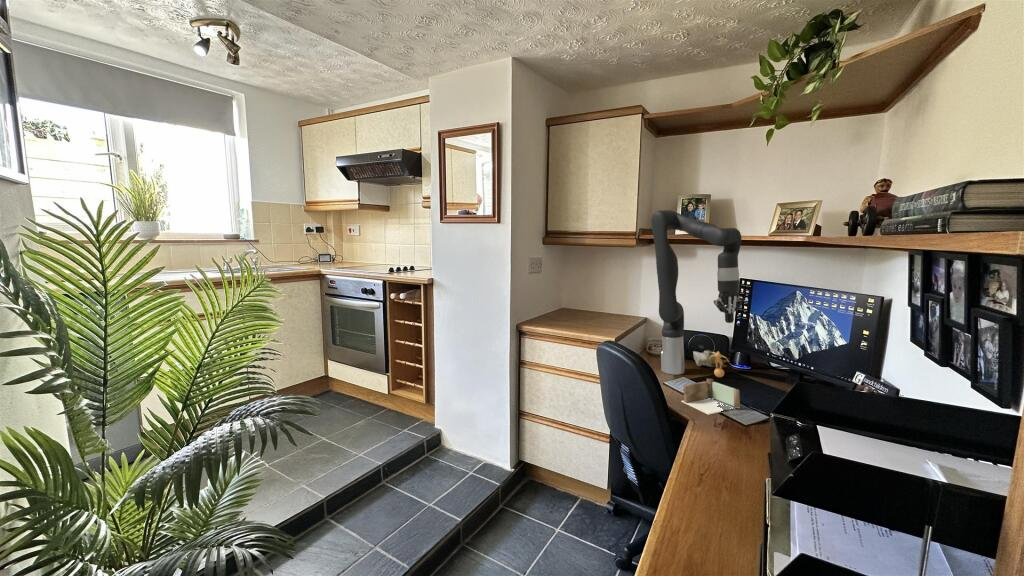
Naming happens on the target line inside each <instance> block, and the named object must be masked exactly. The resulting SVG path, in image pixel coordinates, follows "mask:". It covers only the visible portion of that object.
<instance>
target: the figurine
mask: <svg viewBox="0 0 1024 576" xmlns="http://www.w3.org/2000/svg"><path fill="white" fill-rule="evenodd" d="M714 356H715V357H716V359H717V360H716V359H715V363H716V367H715V368H714V371H713V373H714V375H715V377H717V378H723V377H724V375H725V370H724V369H723V368H721V366H722V360H723V359H722V358H724V359H725V360H727V362H728V363H730V361H729V359H728V357H726V356H724V355H722V354H721V352H720V351H719V350H718V351H716V354H715V355H712V356H710V358H711V357H714ZM710 358H709V359H710ZM709 359H708V361H709ZM720 359H721V360H720ZM718 362H719V363H720V368H718V367H717V366H718V365H717V363H718Z"/></svg>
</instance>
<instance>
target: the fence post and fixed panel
mask: <svg viewBox="0 0 1024 576" xmlns="http://www.w3.org/2000/svg"><path fill="white" fill-rule="evenodd" d="M712 382H715V381H714V379H713V378H706V381H700V382H694V383H689V384H684V385H683V400H684V402H686V403H688V402H693V401H698V400H703V399H708V398H711V399H712V398H713V391H712Z"/></svg>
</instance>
